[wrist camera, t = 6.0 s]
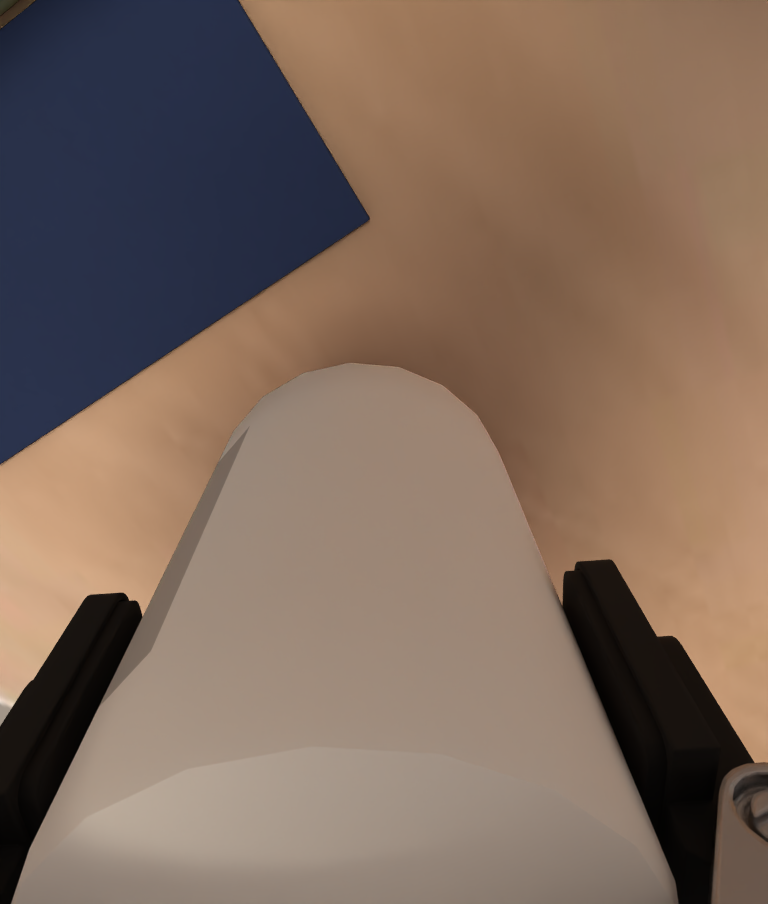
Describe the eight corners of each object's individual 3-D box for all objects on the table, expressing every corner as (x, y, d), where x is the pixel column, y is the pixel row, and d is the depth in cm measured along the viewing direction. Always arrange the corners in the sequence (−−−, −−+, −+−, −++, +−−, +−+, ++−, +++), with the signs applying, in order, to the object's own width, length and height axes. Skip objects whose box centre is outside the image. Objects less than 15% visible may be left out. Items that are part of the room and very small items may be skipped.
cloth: (370, 218, 22) (370, 219, 22) (-91, 523, 26) (-97, 528, 26) (175, -105, 19) (171, -111, 19) (-322, 295, 23) (-333, 297, 22)
